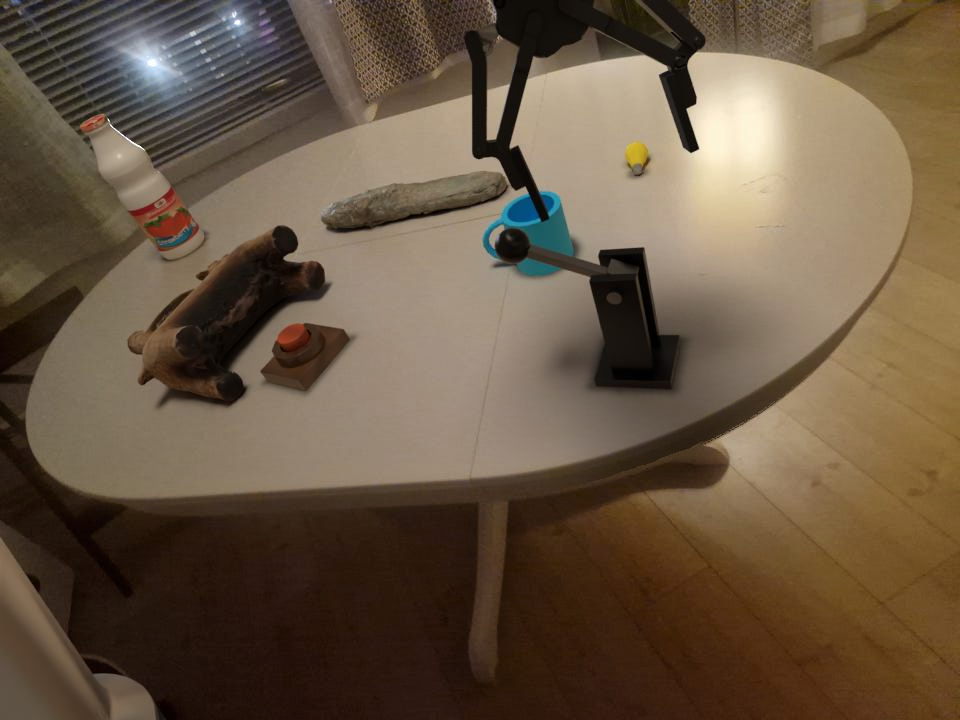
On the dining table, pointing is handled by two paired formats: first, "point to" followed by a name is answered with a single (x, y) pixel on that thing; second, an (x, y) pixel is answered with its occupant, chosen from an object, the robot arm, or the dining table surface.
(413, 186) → the long grey stone
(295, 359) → the button block
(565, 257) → the lever
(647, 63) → the dining table surface
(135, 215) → the fruit juice
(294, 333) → the button
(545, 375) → the dining table surface
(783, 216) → the dining table surface
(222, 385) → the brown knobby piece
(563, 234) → the mug
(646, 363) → the bracket
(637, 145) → the light bulb
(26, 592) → the robot arm
